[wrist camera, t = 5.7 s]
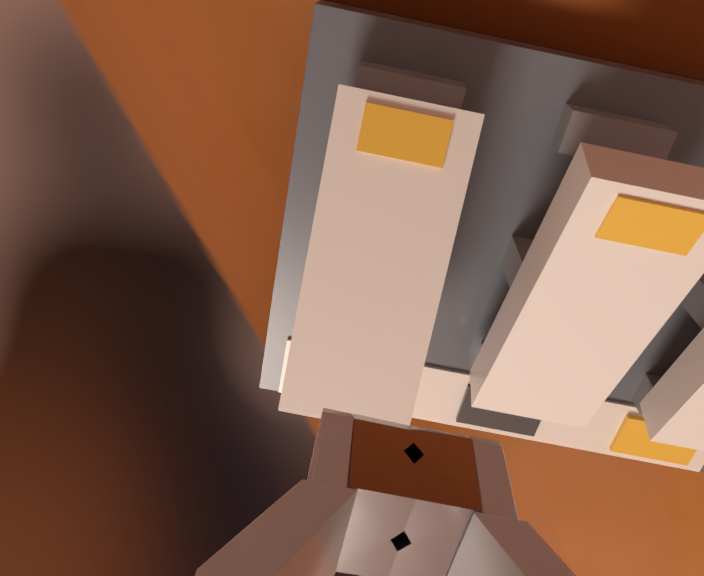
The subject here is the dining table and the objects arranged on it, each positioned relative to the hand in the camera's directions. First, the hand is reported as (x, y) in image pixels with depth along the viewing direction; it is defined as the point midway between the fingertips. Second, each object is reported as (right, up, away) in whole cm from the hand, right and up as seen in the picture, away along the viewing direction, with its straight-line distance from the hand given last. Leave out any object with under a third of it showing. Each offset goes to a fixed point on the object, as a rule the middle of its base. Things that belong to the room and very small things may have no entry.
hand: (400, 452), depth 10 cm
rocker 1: (0, +4, +14) cm, 14 cm away
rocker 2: (+8, +2, +13) cm, 15 cm away
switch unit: (+8, +4, +19) cm, 21 cm away
